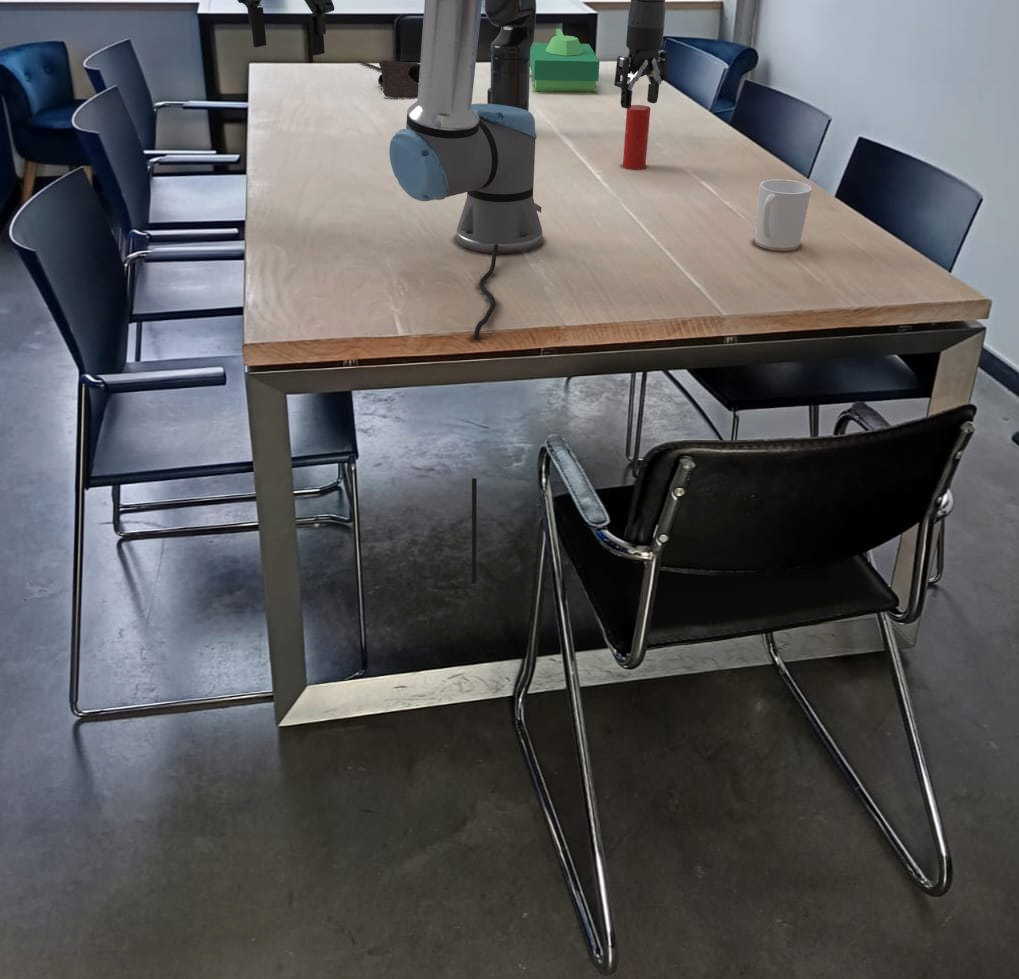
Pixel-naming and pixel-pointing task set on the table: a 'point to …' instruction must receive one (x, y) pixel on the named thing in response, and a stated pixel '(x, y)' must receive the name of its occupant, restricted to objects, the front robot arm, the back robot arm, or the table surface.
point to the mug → (781, 214)
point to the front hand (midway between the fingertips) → (288, 50)
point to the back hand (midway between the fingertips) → (639, 105)
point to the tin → (636, 137)
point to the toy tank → (563, 65)
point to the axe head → (399, 79)
